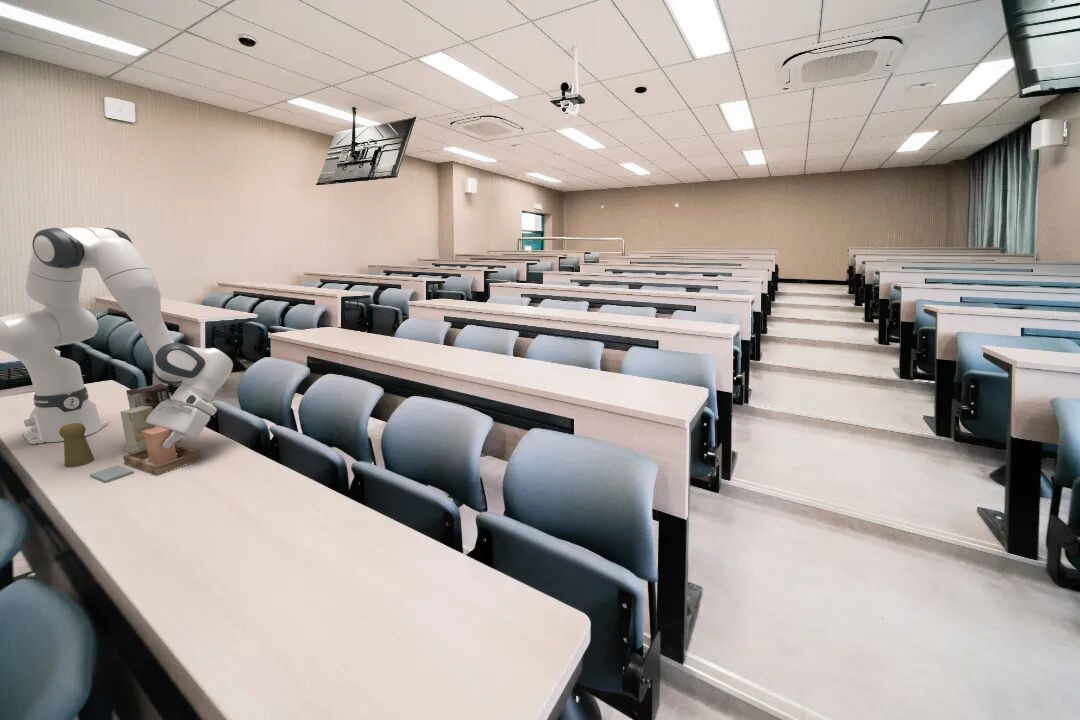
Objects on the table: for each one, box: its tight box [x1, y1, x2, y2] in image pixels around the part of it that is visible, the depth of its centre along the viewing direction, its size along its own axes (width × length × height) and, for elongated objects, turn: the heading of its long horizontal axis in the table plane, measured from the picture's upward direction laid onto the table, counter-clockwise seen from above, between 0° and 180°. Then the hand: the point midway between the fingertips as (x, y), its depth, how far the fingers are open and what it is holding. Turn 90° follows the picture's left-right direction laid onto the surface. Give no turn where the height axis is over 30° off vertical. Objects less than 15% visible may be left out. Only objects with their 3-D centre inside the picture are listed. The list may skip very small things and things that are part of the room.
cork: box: [59, 423, 95, 468], centre depth 135 cm, size 6×6×11 cm
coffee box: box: [126, 383, 171, 410], centre depth 151 cm, size 9×6×16 cm
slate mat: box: [89, 464, 135, 483], centre depth 129 cm, size 8×6×1 cm
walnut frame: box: [123, 443, 203, 476], centre depth 136 cm, size 16×11×2 cm
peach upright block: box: [141, 426, 178, 465], centre depth 135 cm, size 5×5×9 cm
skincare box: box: [120, 406, 154, 453], centre depth 144 cm, size 6×4×12 cm
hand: (157, 445), depth 135 cm, fingers closed on peach upright block, 5 cm apart
